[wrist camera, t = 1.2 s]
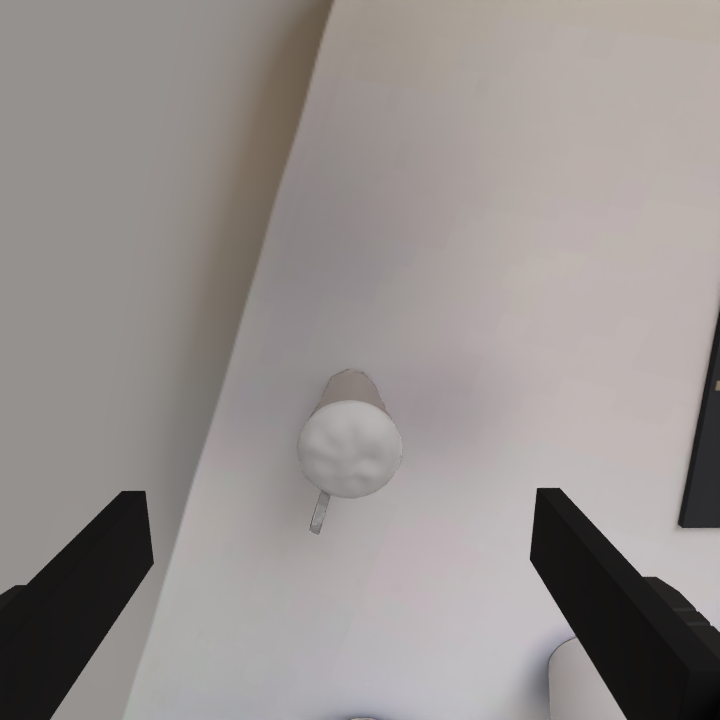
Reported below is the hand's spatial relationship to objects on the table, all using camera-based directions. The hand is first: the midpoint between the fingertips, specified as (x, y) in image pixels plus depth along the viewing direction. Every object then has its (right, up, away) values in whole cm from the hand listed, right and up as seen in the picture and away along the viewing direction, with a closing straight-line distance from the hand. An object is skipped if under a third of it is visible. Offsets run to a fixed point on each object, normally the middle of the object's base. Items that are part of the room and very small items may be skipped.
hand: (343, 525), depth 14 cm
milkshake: (0, +3, +12) cm, 13 cm away
